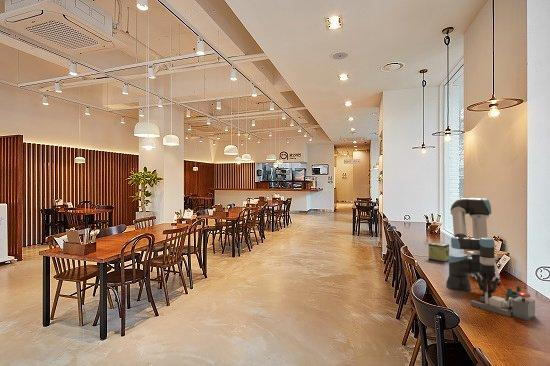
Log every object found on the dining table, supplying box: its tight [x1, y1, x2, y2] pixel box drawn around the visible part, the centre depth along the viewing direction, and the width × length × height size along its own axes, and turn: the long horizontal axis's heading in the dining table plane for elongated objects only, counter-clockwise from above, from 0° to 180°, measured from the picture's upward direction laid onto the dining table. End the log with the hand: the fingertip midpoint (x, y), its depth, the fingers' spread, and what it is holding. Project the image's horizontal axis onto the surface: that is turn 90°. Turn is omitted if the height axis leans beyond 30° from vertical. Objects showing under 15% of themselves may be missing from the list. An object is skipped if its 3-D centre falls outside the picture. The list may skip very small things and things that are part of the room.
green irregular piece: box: [505, 285, 522, 301], centre depth 190 cm, size 9×9×9 cm
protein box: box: [428, 242, 450, 263], centre depth 294 cm, size 10×16×16 cm
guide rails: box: [470, 295, 513, 317], centre depth 181 cm, size 14×20×2 cm
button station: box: [507, 291, 536, 322], centre depth 170 cm, size 10×10×12 cm
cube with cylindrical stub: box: [488, 295, 507, 310], centre depth 179 cm, size 6×8×6 cm
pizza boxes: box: [466, 250, 501, 283], centre depth 238 cm, size 19×30×18 cm, turn 157°
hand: (487, 303), depth 184 cm, fingers closed
